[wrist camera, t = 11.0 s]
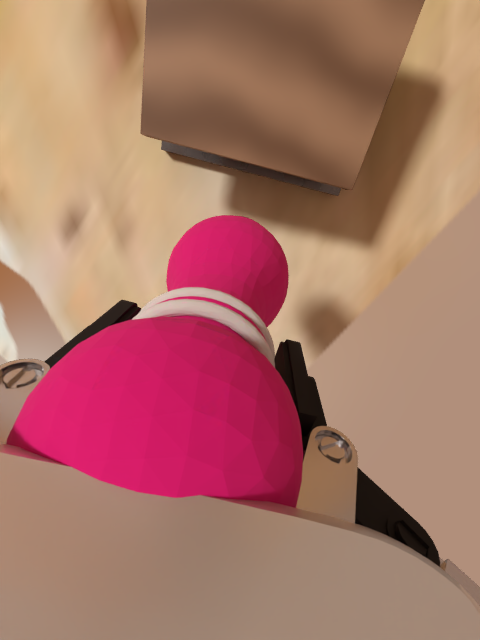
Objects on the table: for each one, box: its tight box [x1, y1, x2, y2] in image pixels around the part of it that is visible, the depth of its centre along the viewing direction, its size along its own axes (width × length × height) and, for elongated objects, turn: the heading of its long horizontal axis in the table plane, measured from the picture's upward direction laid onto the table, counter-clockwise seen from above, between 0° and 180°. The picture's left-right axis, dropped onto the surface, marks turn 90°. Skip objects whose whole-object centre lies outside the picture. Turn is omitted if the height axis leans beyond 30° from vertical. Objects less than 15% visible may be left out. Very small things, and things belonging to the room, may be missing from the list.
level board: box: [141, 0, 425, 190], centre depth 19 cm, size 15×18×2 cm
